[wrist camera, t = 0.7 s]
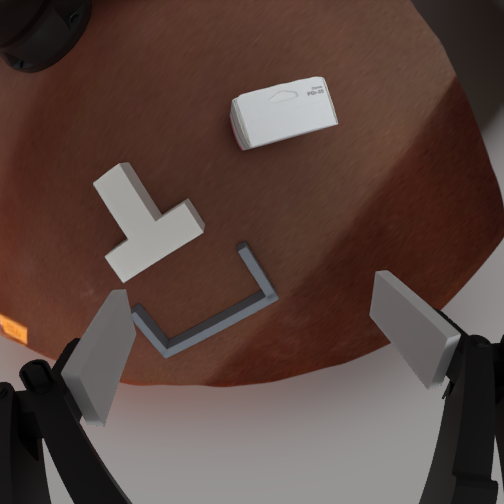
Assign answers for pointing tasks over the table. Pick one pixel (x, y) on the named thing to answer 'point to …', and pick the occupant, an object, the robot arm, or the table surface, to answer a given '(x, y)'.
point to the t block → (143, 222)
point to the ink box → (281, 112)
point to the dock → (215, 322)
